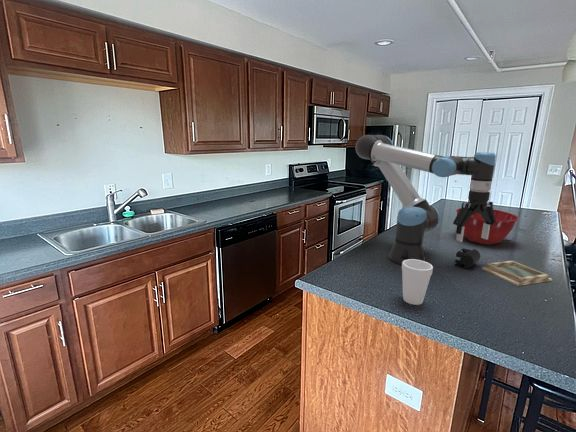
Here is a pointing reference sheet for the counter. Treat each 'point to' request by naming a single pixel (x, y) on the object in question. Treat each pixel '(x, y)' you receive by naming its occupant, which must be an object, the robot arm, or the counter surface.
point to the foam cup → (415, 280)
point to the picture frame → (516, 273)
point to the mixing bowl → (497, 230)
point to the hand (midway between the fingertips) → (471, 239)
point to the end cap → (467, 258)
